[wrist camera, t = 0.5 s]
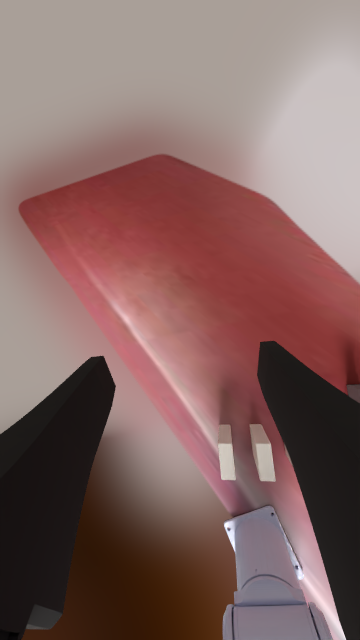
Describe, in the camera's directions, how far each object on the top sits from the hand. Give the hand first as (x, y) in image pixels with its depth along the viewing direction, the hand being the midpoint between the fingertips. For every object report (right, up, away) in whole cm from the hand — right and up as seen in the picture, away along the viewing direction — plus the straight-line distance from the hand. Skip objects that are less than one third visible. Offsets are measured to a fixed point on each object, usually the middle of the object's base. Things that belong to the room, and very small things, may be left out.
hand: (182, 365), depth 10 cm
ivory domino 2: (+12, -17, +24) cm, 31 cm away
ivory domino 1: (+7, -17, +25) cm, 31 cm away
